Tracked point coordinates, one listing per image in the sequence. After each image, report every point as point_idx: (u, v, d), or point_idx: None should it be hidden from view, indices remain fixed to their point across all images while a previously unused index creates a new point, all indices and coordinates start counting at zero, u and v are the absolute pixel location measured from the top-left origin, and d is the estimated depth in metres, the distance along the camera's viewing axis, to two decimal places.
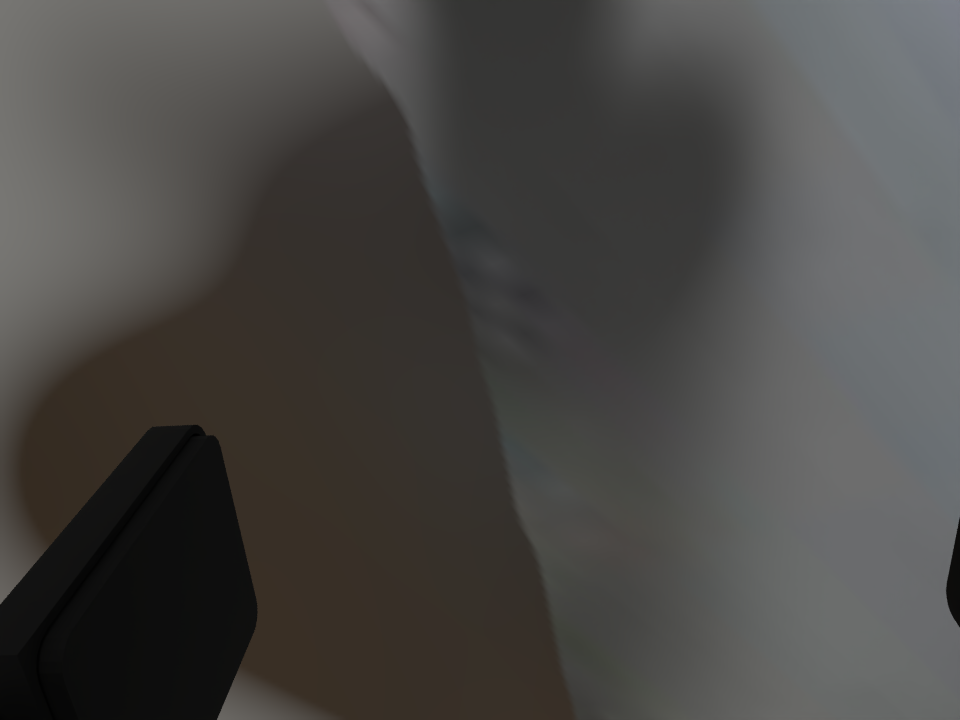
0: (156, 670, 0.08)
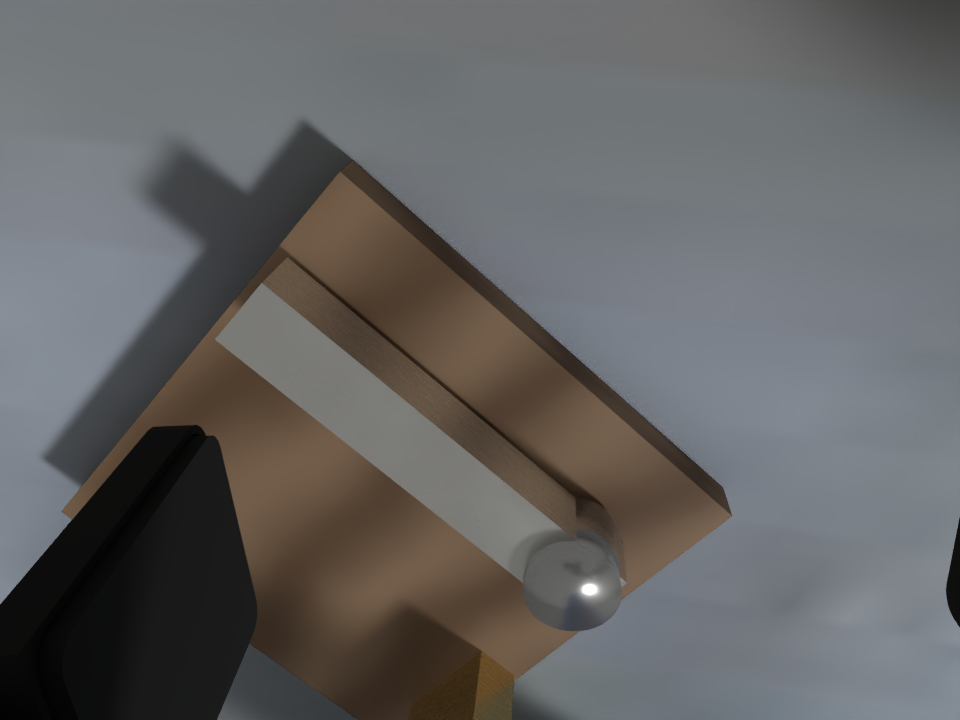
0: (156, 670, 0.08)
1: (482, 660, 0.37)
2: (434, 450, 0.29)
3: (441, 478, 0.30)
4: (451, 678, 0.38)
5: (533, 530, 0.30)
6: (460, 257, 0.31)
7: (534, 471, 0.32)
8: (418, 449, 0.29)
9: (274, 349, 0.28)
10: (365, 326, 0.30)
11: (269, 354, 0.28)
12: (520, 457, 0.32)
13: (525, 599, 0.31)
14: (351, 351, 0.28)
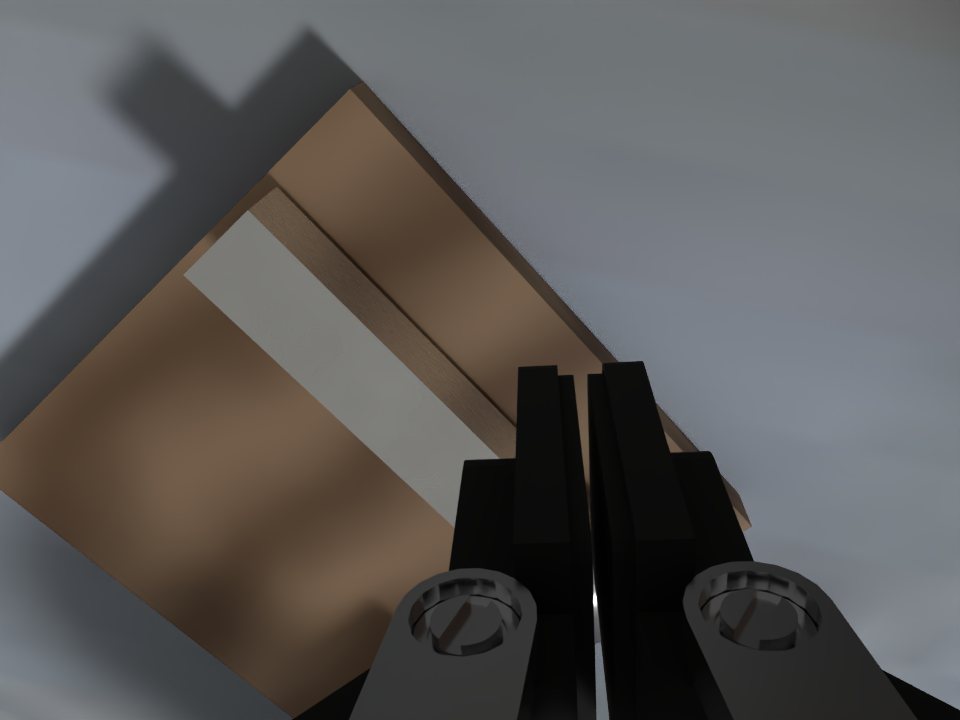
0: None
1: None
2: (434, 427, 0.25)
3: (439, 460, 0.25)
4: None
5: None
6: (476, 208, 0.27)
7: None
8: (415, 425, 0.25)
9: (255, 293, 0.23)
10: (362, 277, 0.26)
11: (248, 298, 0.24)
12: None
13: None
14: (348, 303, 0.24)
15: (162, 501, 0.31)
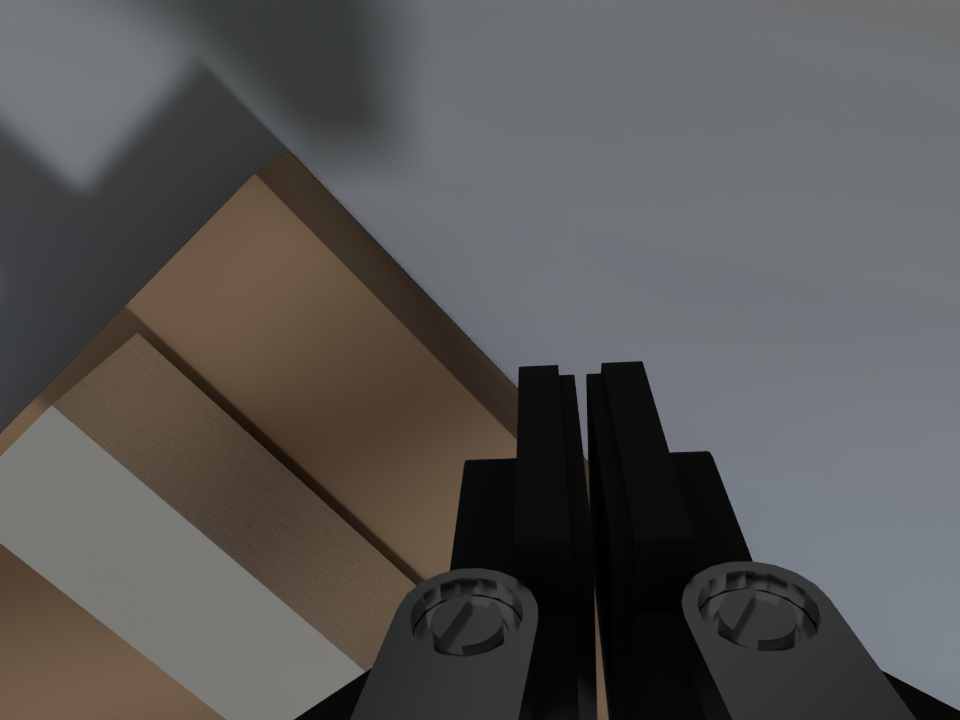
0: None
1: None
2: None
3: None
4: None
5: None
6: (477, 351, 0.17)
7: None
8: None
9: (79, 538, 0.13)
10: (284, 477, 0.16)
11: (68, 545, 0.13)
12: None
13: None
14: (245, 552, 0.14)
15: None
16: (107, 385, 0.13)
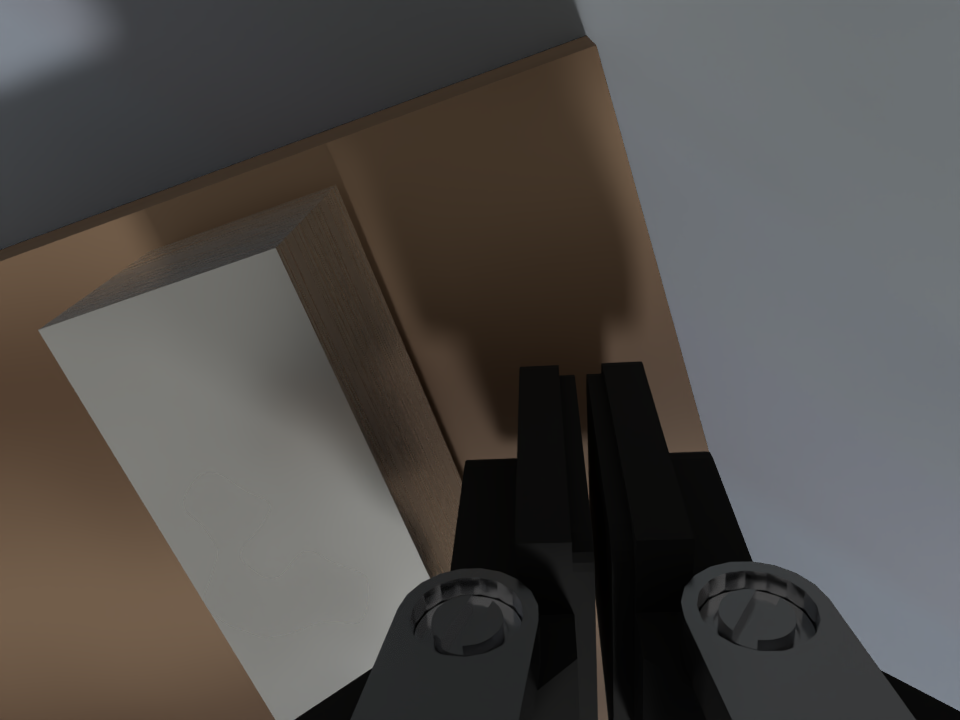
0: None
1: None
2: None
3: None
4: None
5: None
6: None
7: None
8: None
9: (208, 438, 0.09)
10: (435, 431, 0.12)
11: (186, 441, 0.09)
12: None
13: None
14: (416, 526, 0.10)
15: None
16: (316, 244, 0.09)
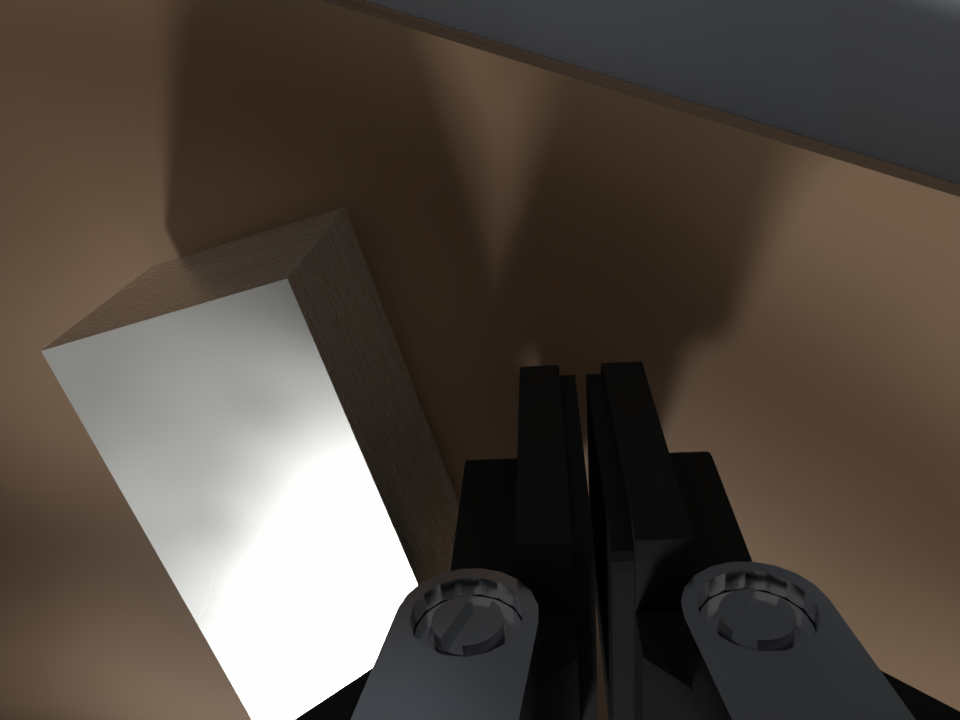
0: None
1: None
2: None
3: None
4: None
5: None
6: None
7: None
8: None
9: (210, 463, 0.09)
10: (434, 455, 0.12)
11: (187, 466, 0.09)
12: None
13: None
14: (415, 555, 0.10)
15: None
16: (325, 270, 0.09)
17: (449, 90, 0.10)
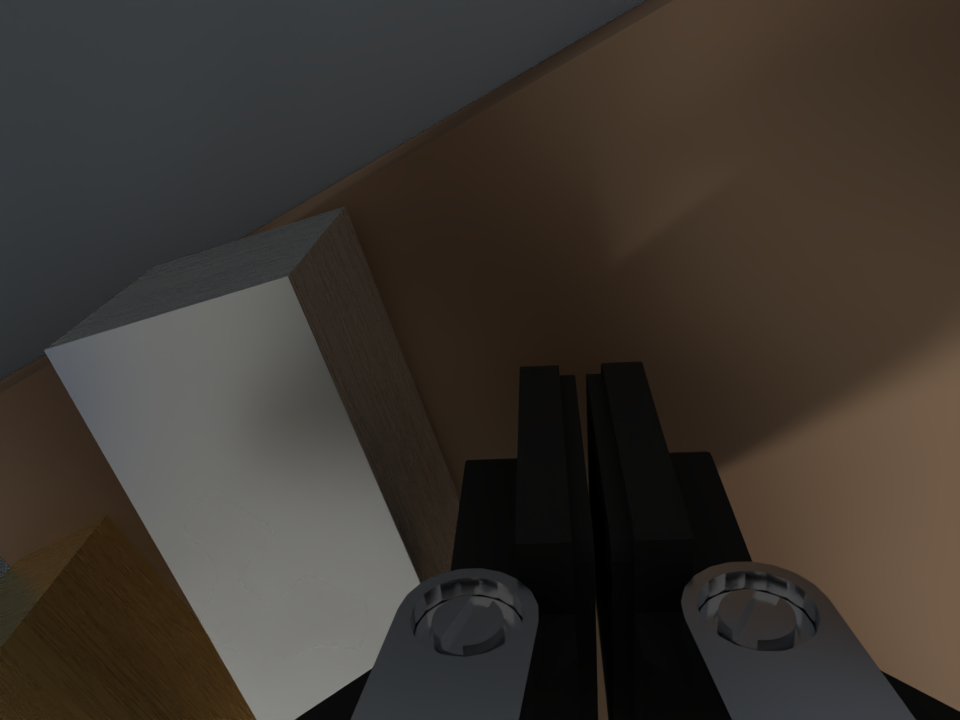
0: None
1: None
2: None
3: None
4: (212, 652, 0.14)
5: None
6: None
7: None
8: None
9: (212, 461, 0.09)
10: (436, 454, 0.12)
11: (190, 464, 0.09)
12: None
13: None
14: (417, 552, 0.10)
15: (898, 257, 0.11)
16: (326, 269, 0.09)
17: None
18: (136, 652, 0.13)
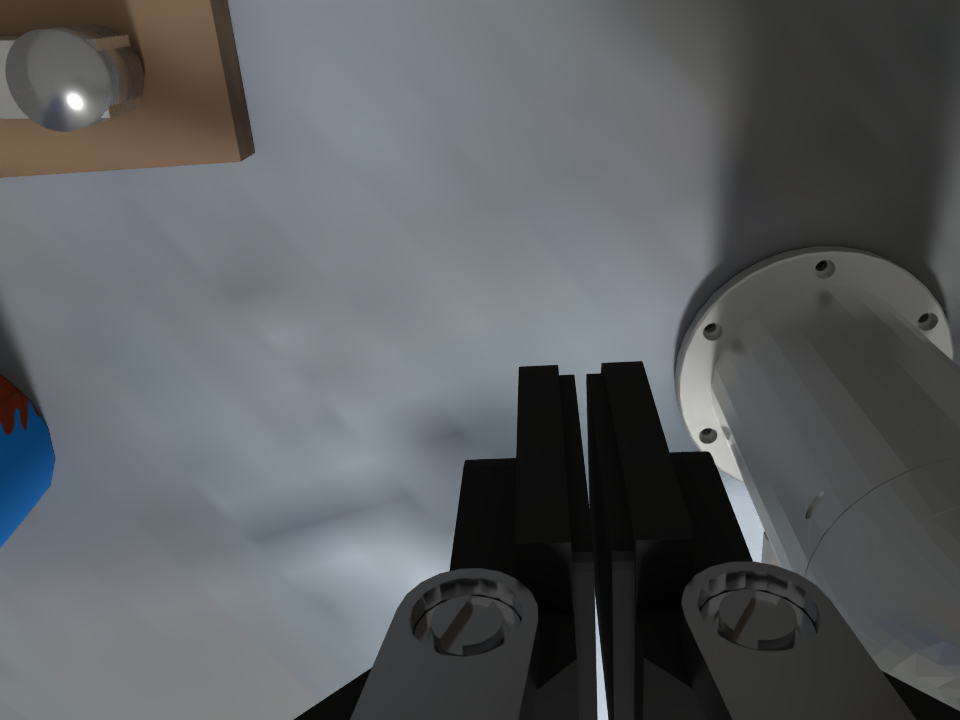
0: None
1: None
2: None
3: None
4: None
5: None
6: None
7: (2, 37, 0.33)
8: None
9: None
10: None
11: None
12: None
13: (38, 122, 0.31)
14: None
15: None
16: None
17: None
18: None
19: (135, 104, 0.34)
